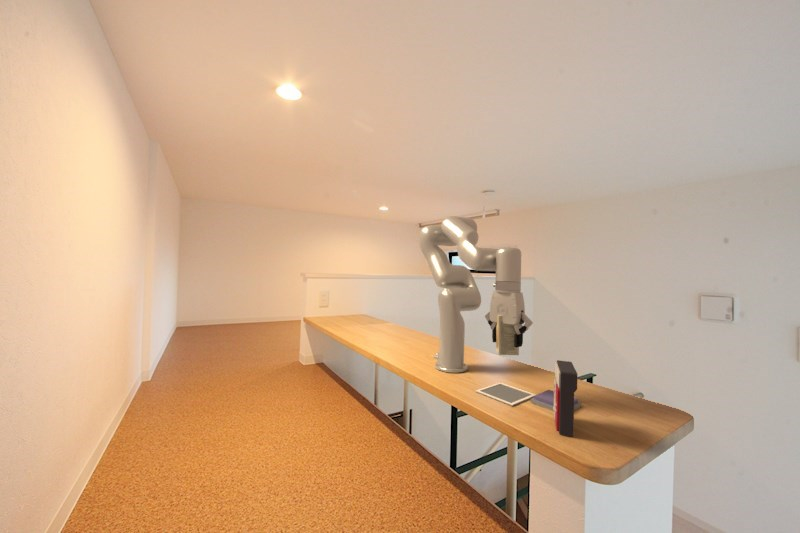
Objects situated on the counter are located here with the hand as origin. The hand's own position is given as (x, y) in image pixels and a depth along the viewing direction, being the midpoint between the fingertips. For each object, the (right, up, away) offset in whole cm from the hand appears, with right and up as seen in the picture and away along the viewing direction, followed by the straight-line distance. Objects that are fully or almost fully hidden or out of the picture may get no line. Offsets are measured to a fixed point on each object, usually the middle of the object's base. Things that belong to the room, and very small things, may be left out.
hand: (506, 343), depth 101 cm
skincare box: (0, -3, 0) cm, 3 cm away
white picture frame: (0, -16, 0) cm, 16 cm away
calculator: (+8, -16, -20) cm, 27 cm away
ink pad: (+12, -16, -7) cm, 21 cm away
